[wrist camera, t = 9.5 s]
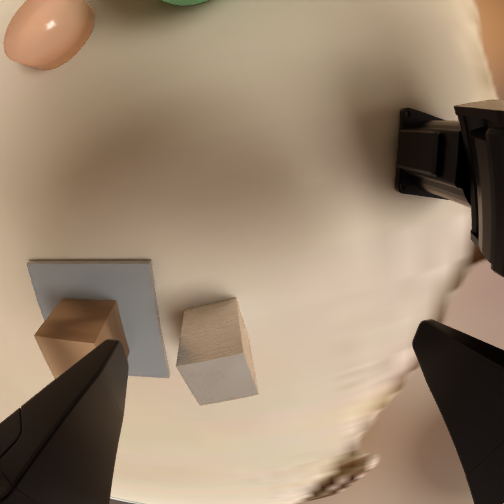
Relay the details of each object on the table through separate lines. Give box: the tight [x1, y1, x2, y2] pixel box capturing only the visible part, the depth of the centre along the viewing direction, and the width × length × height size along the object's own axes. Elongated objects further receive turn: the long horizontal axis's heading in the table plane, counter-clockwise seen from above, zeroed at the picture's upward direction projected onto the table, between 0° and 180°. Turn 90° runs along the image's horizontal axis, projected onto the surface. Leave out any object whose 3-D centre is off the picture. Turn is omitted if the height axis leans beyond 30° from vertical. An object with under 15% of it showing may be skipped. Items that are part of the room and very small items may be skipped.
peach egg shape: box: [4, 0, 95, 70], centre depth 9 cm, size 6×6×4 cm
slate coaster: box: [27, 260, 170, 378], centre depth 20 cm, size 11×11×1 cm
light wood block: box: [176, 298, 259, 405], centre depth 18 cm, size 4×4×6 cm
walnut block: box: [34, 298, 130, 379], centre depth 17 cm, size 5×5×5 cm
